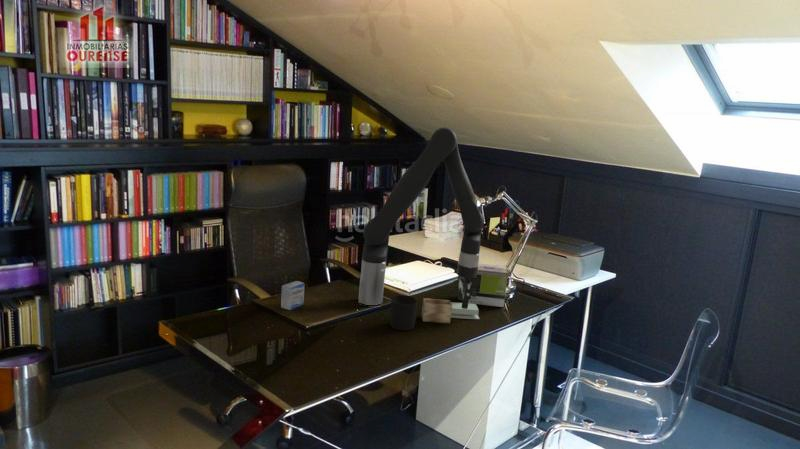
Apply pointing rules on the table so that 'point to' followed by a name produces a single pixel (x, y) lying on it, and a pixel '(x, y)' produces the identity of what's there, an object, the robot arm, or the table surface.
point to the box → (436, 310)
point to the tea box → (489, 285)
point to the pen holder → (403, 312)
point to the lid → (459, 310)
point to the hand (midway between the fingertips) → (462, 304)
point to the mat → (464, 316)
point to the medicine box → (292, 295)
